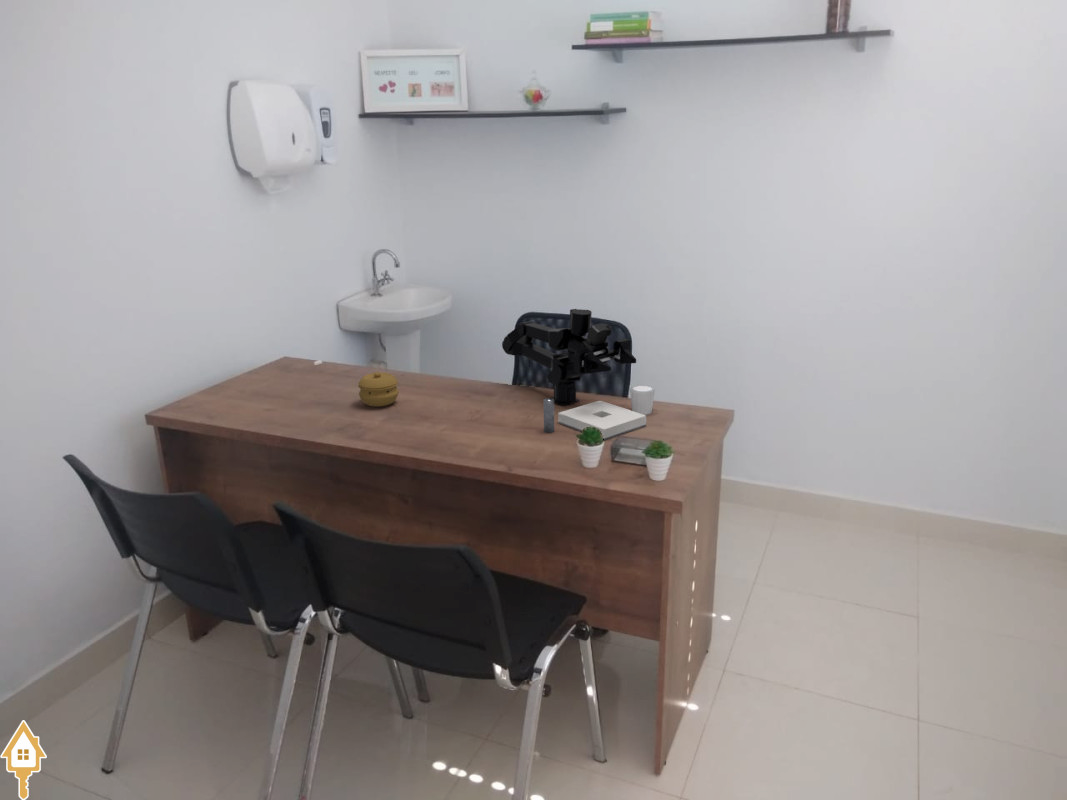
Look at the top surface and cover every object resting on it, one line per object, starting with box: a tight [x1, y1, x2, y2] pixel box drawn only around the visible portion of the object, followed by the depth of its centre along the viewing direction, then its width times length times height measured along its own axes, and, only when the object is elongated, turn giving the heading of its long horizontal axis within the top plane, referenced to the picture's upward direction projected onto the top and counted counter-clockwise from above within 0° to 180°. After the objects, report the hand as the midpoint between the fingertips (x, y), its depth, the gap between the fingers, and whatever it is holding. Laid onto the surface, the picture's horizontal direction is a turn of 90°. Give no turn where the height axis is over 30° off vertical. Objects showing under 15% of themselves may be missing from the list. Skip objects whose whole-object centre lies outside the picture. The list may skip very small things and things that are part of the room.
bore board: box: [557, 400, 647, 441], centre depth 226 cm, size 18×16×3 cm
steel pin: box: [543, 397, 555, 434], centre depth 221 cm, size 3×3×9 cm
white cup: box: [629, 384, 656, 416], centre depth 235 cm, size 7×7×7 cm
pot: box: [357, 371, 400, 408], centre depth 246 cm, size 12×12×10 cm
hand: (623, 365), depth 222 cm, fingers open, 9 cm apart
